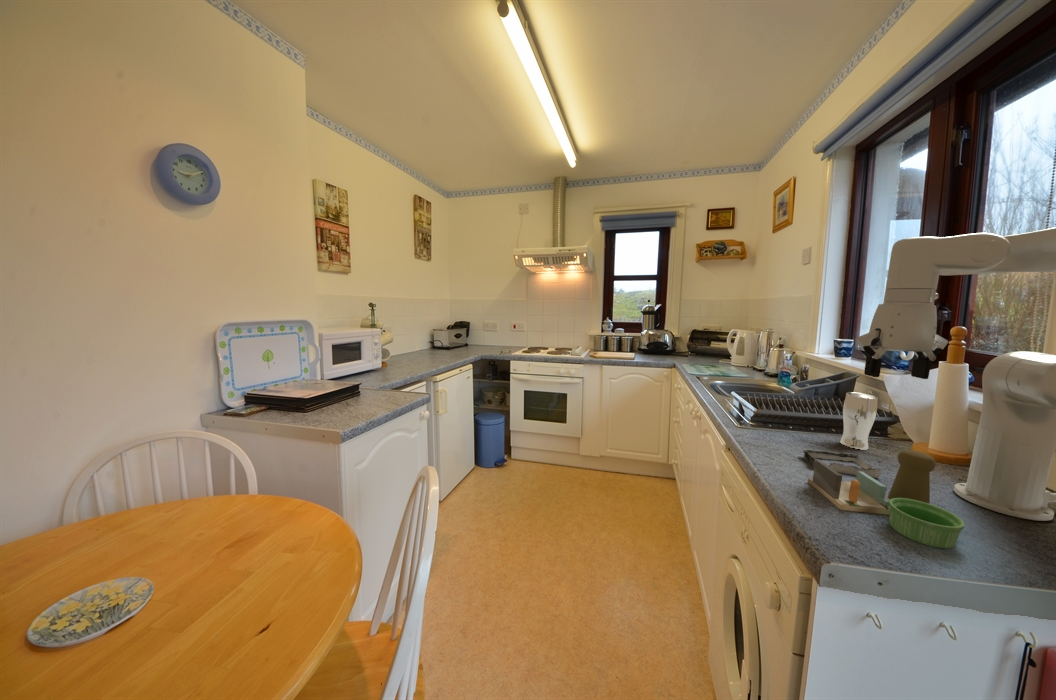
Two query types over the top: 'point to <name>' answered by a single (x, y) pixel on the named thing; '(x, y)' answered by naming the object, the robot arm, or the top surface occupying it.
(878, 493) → the pad
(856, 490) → the ball-ended orange rod
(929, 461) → the cork
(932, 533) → the ramekin
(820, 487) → the stand
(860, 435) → the beer glass
